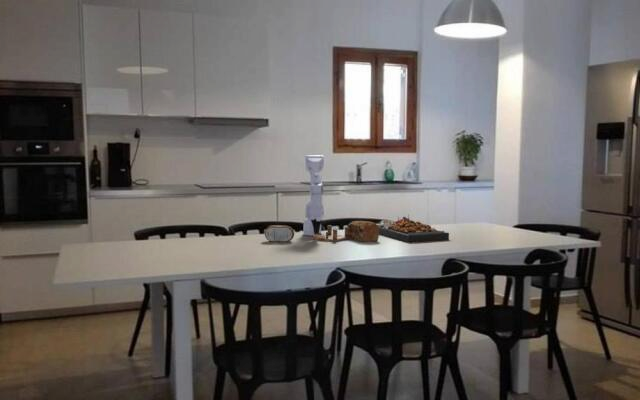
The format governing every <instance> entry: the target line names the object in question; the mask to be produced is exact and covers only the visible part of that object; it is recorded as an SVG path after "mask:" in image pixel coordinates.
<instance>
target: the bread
mask: <svg viewBox="0 0 640 400" xmlns="http://www.w3.org/2000/svg"><path fill="white" fill-rule="evenodd" d="M375 223H376V222H372V221H366V220H365V221H364V220H354V221H351V222H350V223H348V224H347V226H346V227H349V236H351V240H354V241H358V242H359V243H360V242H362V243H370V242H372V243H373V242H374V243H375V242H378V240H379V237H380V235H379V228H378V227H379V226H378V225H376V224H375Z"/></svg>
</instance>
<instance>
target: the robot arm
mask: <svg viewBox="0 0 640 400" xmlns="http://www.w3.org/2000/svg"><path fill="white" fill-rule="evenodd" d="M324 159H325V158H324V155H323V154H321V155H319V154H318V155H317V154H314V155H313V154H312V155H311V154H309V155H308V154H306V155H305V169H306V171H307V172H309V176H310V187H309V194H310V201H309V202H307V203H306V204H305V219H304V220H303V230H302V231H303V234H302V236H312V237H313V230H314V234H319V233H322V222H323V220H322V219H323V218H325V214H324V204H323V196H324V185H323V183H322V182H323V181H322V176H321V174H320V172H322V171H323V169H324V163H325V161H324ZM322 235H325V233H322Z"/></svg>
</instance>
